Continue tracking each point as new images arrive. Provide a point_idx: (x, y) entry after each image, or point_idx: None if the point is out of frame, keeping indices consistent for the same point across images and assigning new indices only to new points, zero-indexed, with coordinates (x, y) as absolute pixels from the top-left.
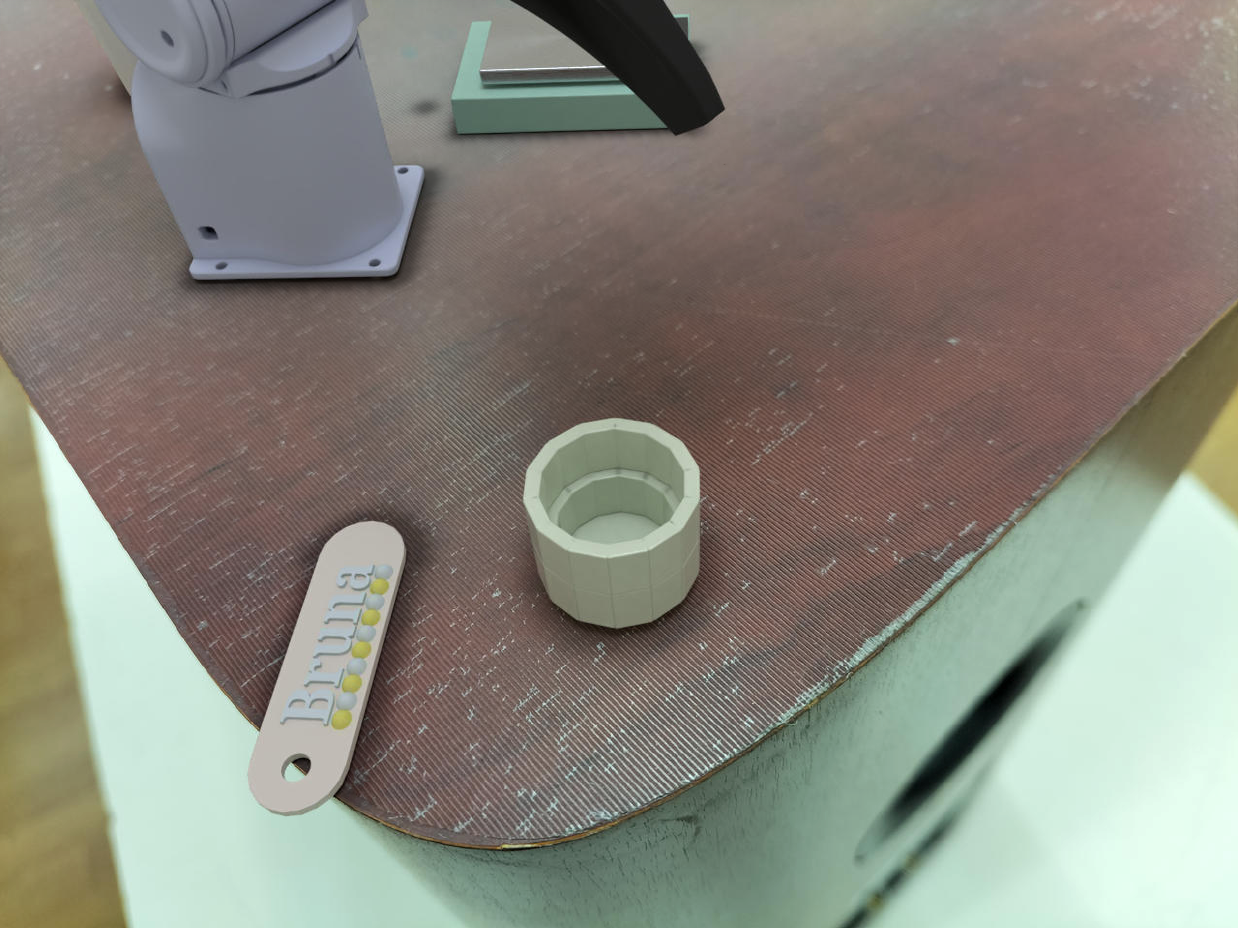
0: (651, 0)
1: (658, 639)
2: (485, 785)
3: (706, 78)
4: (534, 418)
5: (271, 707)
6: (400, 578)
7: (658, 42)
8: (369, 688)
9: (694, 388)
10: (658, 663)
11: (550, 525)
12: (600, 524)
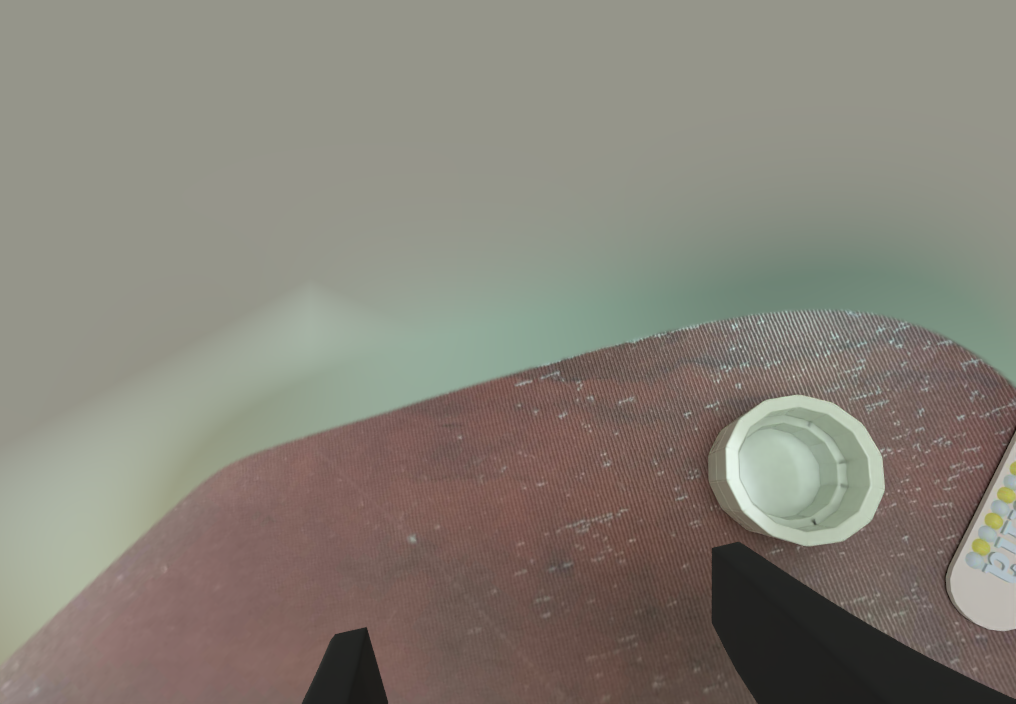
0: (851, 650)
1: None
2: (923, 360)
3: (742, 569)
4: None
5: None
6: (957, 550)
7: (833, 605)
8: (1002, 462)
9: (630, 613)
10: (774, 387)
11: (869, 453)
12: (775, 509)
